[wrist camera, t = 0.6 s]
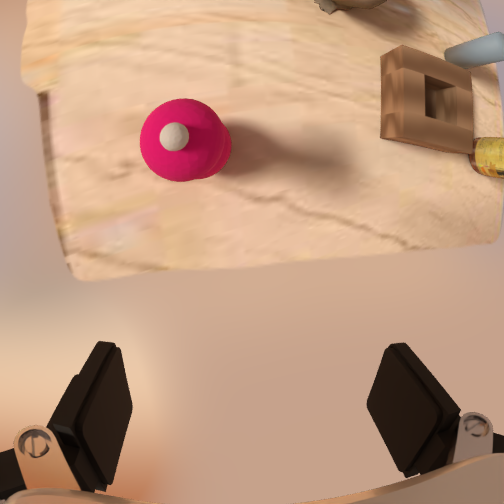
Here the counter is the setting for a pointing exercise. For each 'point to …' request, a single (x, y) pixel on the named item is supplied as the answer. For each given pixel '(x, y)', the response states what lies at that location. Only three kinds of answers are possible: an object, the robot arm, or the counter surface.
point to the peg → (477, 51)
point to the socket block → (426, 101)
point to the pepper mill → (184, 141)
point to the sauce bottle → (488, 156)
